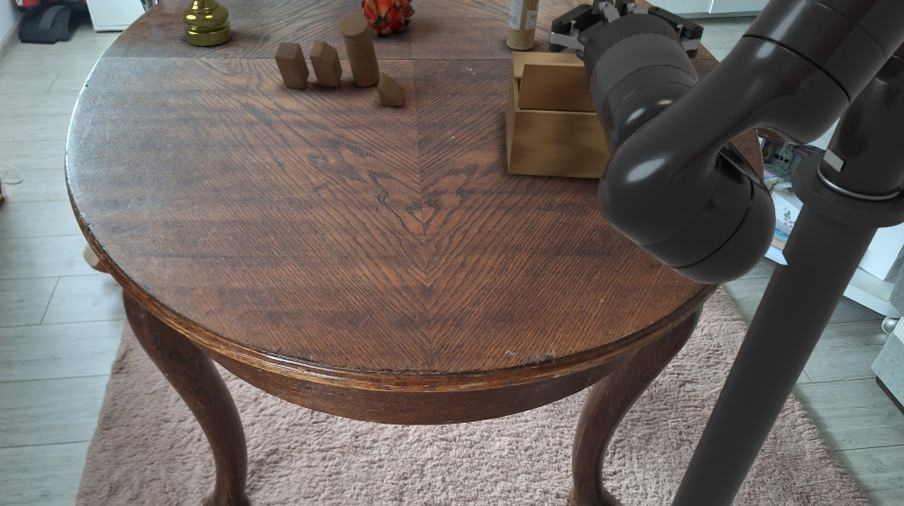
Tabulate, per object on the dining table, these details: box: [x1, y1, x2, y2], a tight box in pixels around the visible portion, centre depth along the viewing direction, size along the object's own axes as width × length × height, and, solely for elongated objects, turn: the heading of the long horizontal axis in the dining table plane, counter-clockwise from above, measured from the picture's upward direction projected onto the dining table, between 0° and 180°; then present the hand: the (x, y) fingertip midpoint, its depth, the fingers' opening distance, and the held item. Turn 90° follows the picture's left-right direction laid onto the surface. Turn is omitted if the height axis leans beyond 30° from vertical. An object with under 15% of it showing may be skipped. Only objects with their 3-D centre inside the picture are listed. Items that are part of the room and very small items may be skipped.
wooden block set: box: [274, 12, 407, 107], centre depth 104 cm, size 18×9×10 cm, turn 76°
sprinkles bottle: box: [506, 0, 540, 51], centre depth 116 cm, size 5×5×13 cm
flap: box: [517, 61, 595, 111], centre depth 81 cm, size 14×7×1 cm
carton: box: [504, 50, 611, 179], centre depth 93 cm, size 14×15×9 cm
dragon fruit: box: [360, 0, 416, 37], centre depth 122 cm, size 8×8×12 cm
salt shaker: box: [180, 0, 232, 47], centre depth 118 cm, size 7×7×10 cm
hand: (610, 0), depth 69 cm, fingers closed
